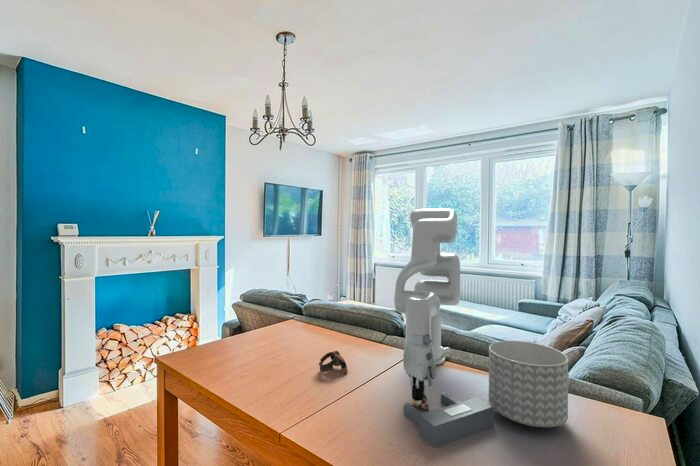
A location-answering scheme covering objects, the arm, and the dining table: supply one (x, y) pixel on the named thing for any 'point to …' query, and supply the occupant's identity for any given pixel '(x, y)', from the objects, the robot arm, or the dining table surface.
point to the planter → (528, 383)
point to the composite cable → (421, 404)
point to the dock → (452, 419)
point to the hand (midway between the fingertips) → (417, 399)
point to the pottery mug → (333, 362)
